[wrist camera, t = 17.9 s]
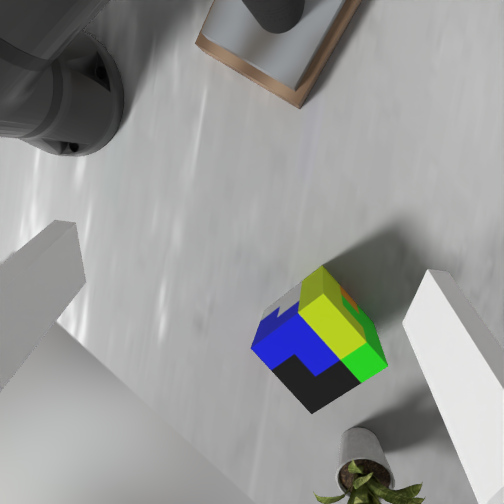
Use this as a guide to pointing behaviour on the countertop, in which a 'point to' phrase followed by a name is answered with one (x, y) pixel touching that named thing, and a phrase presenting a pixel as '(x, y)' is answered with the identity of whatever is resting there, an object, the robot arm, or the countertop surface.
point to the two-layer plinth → (276, 44)
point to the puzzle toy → (318, 341)
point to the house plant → (367, 473)
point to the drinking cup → (276, 13)
